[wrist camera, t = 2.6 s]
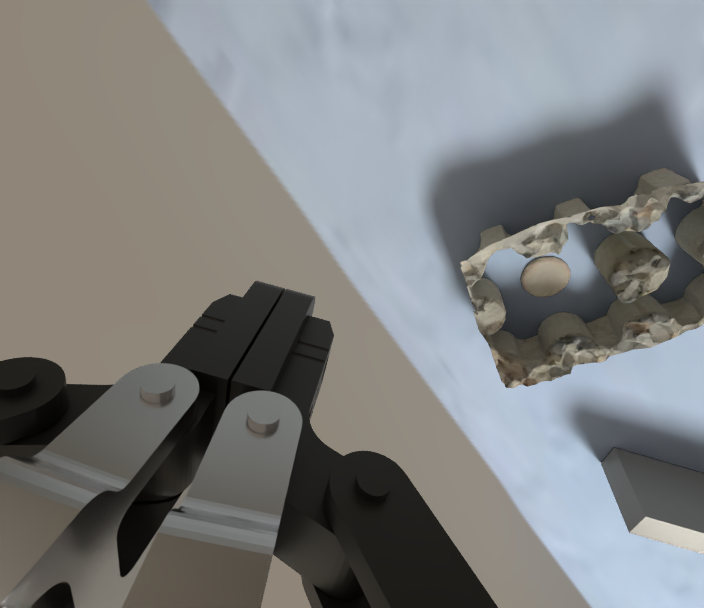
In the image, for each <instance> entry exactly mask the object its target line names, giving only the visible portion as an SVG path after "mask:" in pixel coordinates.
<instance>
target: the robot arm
mask: <svg viewBox="0 0 704 608" xmlns="http://www.w3.org/2000/svg"><path fill="white" fill-rule="evenodd" d="M314 303H315V297H314V296H311V295H306V294H303V293H300V292H296V291H292V290H289V289H286V290H285V289H284V288H281V287H277V286H274V285H270V284H266V283H263V282H259V281H255V282H254V284H253V285H252V286H251V287H250V289H249V290H248V291H247V293H246V294H245V295H244V297H243V298H242V297H239V296H235V295H231V294H229V295H227V296H225V297H223V298H221V299H218V300H216V301H214V302H213V303H212V304H211V305H210V306H209V307H208V308H207V309H206V311H205V312H204V313H203V314H202V317H200V318H199V319H198V320H197V321H196V322H195V323H194V325H193V327H191V328H190V329H189V330H188V331H187V333H186V334H185V335H184V336H183V337H182V339H180V341H179V342H178V343H177V344H176V345H175V346H174V348H173V349H172V350H171V351H170V352H169V353H168V355H167V356H166V357H165V358H164V359H163V360H162V362H161V363H157V364H149V365H145V366H141V367H138V368H136V369H134V370H132V371H130V372H128V373H127V374H125V375H124V376H123V377H122V378H121V379H120V380H118V381H117V382H116V383H115V384H114V385H82V384H66V378H65V373H64V371H63V370H62V368H61V367H60V366H59V365H57V364H56V363H54V362H52V361H49V360H47V359H42V358H33V357H22V358H13V359H8V360H4V361H0V608H261V603H262V599H263V594H264V590H265V586H266V582H267V578H268V573H269V569H270V564H271V559H272V556H273V555H275V556H276V557H277V558H279V559H280V560H281V561H283V562H284V563H285V564H287V565H288V566H289V567H291V568H292V569H294V570H295V571H296V572H298V573H299V574H300V575H301V577H302V584H303V587H304V590H305V593H306V595H307V597H308V600H309V602H310V605H311V607H312V608H498V607H497V605H496V604H495V603H494V601H493V600H492V598H491V597H490V595H489V594H488V592H487V591H486V589H485V588H484V587H483V585H482V584H481V582H480V581H479V579H478V578H477V576H476V575H475V574H474V572H473V571H472V569H471V568H470V566H469V565H468V563H467V562H466V561H465V559H464V558H463V556H462V555H461V553H460V552H459V550H458V549H457V547H456V546H455V545H454V543H453V542H452V540H451V539H450V537H449V536H448V534H447V533H446V532H445V530H444V529H443V527H442V526H441V524H440V523H439V521H438V520H437V519H436V517H435V516H434V514H433V513H432V511H431V510H430V508H429V507H428V505H427V504H426V503H425V501H424V500H423V498H422V497H421V495H420V494H419V492H418V491H417V490H416V488H415V487H414V485H413V484H412V482H411V481H410V479H409V478H408V476H407V475H406V474H405V472H404V471H403V470H402V469H401V468H400V467H399V466H398V465H397V464H396V463H395V462H394V461H392V460H391V459H389V458H387V457H386V456H384V455H381V454H378V453H375V452H371V451H357V452H352V453H349V454H347V455H345V456H342V455H341V454H339V453H338V452H336V451H334V450H333V449H331V448H330V447H328V446H327V445H325V444H324V443H323V442H322V441H321V440H320V439H319V438H318V437H317V436H316V434H315V433H314V431H313V429H312V427H311V424H310V419H311V416H312V413H313V409H314V406H315V403H316V400H317V397H318V394H319V390H320V387H321V384H322V381H323V377H324V373H325V369H326V365H327V361H328V357H329V353H330V349H331V345H332V341H333V337H334V334H333V331H332V328H331V325H330V322H329V321H326V320H323V319H319V318H315V317H312V313H313V308H314Z"/></svg>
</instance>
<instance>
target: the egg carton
mask: <svg viewBox="0 0 704 608" xmlns="http://www.w3.org/2000/svg"><path fill="white" fill-rule="evenodd" d="M671 197H677V198H679V199H681V200H683V201H685V202H688V203H692V202H695V201H697V200H699V199H701V198H702V205H701V206H699V207H698V208H696V209H694V210H692V211H691V212H690V213H688V214H687V215H686V216H685V217H684V218H683V219H682V221H681V222H680V223H679V225H678V226H677V229H676V232H675V240H676V242H677V244H678V246H679V247H680V248H682V249H683V250H684V251H685V252H687V253H688V254H689V255H691V256H692V257H693V258H694V259H696V260H697V261H698V262H700V263H701V264H702V265H703V267H704V182H698V183H691V182H690V181H689V180H688V179H686V178H684V177H682V176H680V175H678V174H676V173H674V172H673V171H672V170H669V169H666V168H661V169H658V170H655V171H652V172H649V173H646V174H644V175H642V176H640V178H639V182H638V187H637V190H636V192H635V193H634V195H633V196H631V197H629V198H628V200H627V201H626V202H625V203H624V204H622V205H617V206H607V207H600V208H596V209H592V210H590V209H589V208H588V207H587V206H586V205H585V204H584V202H583V201H582V200H581V199H580V198H575V199H572V200H569V201H566V202H563V203H560V204H558V205H556V206H555V212H554V218H553V220H550V221H547V222H543V223H539V224H536V225H534V226H532V227H530V228H528V229H525V230H523V231H521V232H519V233H517V234H514V235H512V236H511V235H509V234H508V233H507V232H506V231H505V230H504V228H503V226H502V225H498V226H494V227H491V228H489V229H486V230H484V231H482V232H481V233H480V237H481V243H480V247H479V249H478V251H477V252H476V253H475V254H474V255H473V256H472V257H470V258H469V259H467V260H465V261H462V262H461V270H462V273H463V275H464V278H465V280H466V283H467V285H468V286H467V288H468V292H469V295H470V298H471V301H472V303H473V305H474V307H475V309H476V311H474V315H475V319H476V322H477V325H478V329H479V331H480V333H481V334H482V335H483V337H484V338H485V340H486V341H487V343H488V344H489V347H490V349H491V352H492V355H493V358H494V361H495V364H496V368H497V370H498V373H499V375H500V378H501V381H502V382H503V383H504V384H505V387H506V388H514V387H517V386H518V385H521V384H523V385H525V386H531V385H535V384H537V383H539V382H541V381H552V380H554V379H556V378H559V377H562V376H564V375H566V374H571V370H572V367H573V366H575V365H578V364H585V363H594V362H602V361H605V360H606V359H607V358H608V357H609V356H612V355H616V354H620V353H624V352H627V351H630V350H633V349H642V348H651V347H653V346H655V345H658V344H660V343H662V342H665V341H667V340H670V339H672V338H675V337H677V336H679V335H681V334H682V333H684V332H685V331H688V330H692V329H696V328H698V327H700V326H701V325H703V324H704V273H703V274H701V275H699V276H698V277H696V278H695V279H694V280H692V281H691V282H690V283H689V284H688V286H687V287H686V289H685V291H684V295H683V297H682V298H680V299H678V300H675V301H672V302H668V303H663V304H660V303H659V302H658V301H657V300H656V299H655V298H654V297H652V296H651V295H649V293H651V292H653V291H655V290H657V289H658V288H659V286H660V285H661V284H662V283H663V281H664V280H665V279H666V278H667V275H668V271H669V267H670V260H669V258H668V257H667V256H666V255H665V254H663V253H662V252H661V251H660V250H659V249H657V248H656V247H655V246H654V245H653V244H652V243H651V242H649V241H648V240H647V239H646V238H645V237H643V236H642V235H640V234H638V233H636V231H637V232H641V231H643V230H645V229H647V228H649V227H650V226H651V224H652V223H653V222H655V221H658V220H659V218H660V215H661V212H666V209H667V204H668V202H669V200H670V198H671ZM590 215H593V216H595V219H594V220H589V219H588V217H589V216H590ZM571 222H574V223H576V224H577V225H583V224H586V223H588V222H592V223H594V224H596V225H599V224H602V225H603V226H605V228H606V229H607V230H608V231H611V232H613V233H614V234H612V235H610V236H609V237H607V238H606V239H605V240H604V241H603V242H602V243H601V244H600V245H599V247H598V248H597V249H596V251H595V254H594V262H595V265H596V267H597V269H598V270H599V272H600V273H601V274H602V276H603V277H604V278H605V280H606V281H607V282H608V284H609V285H610V286H611V288H612V290H613V291H614V293H615V295H616V296H617V297H618V299H616V300H615V301H614V302H613V303H612V304H611V306H610V307H609V309H608V312H607V315H606V316H604V317H601V318H599V319H596V320H594V321H591V322H589V323H584V321H583V320H582V319H581V318H580V317H579V316H577V315H575V314H572V313H567V312H560V313H555V314H553V315H550V316H549V317H547V318H546V319H544V321H542V322H541V324H540V326H539V328H538V333H537V335H536V336H533V337H530V338H527V339H516V338H515V337H514V335H512V334H511V333H509V332H507V331H503V330H499V329H500V328H501V327H502V325H503V323H504V321H505V314H506V310H505V306H504V303H503V299H502V296H501V293H500V290H499V289H498V287H497V286H496V285H495V284H494V283H493V282H492V281H491V280H489V279H486V278H482V276H483V273H484V271H485V268H486V264H487V261H488V259H489V257H490V256H491V255H492V254H493V253H495V252H496V251H497V250H502V249H508V248H512V249H514V250H515V251H516V252H517V253H518V254H521V255H523V256H525V257H526V258H530V257H539V256H542V255H545V254H548V253H551V252H554V253H557V254H559V253H560V252H561V250H562V247H563V246H564V244H565V243H566V242H567V240H568V231H567V224H568V223H571ZM633 231H634V232H633ZM569 279H570V269H569V267H568V265H567V264H566V263H565V262H564V261H563V260H562V259H559V258H556V257H541V258H537V259H535V260H533V261H532V262H531V263H529V264H528V265H527V266H526V268H525V269H524V271H523V273H522V275H521V284H522V286H523V288H524V289H525V290H526V291H527V292H528V293H530V294H531V295H533V296H537V297H548V296H552V295H555V294H557V293H558V292H560V291H561V290H562V289H563V288H564V287H565V286H566V285H567V283H568V282H569Z"/></svg>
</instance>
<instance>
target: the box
mask: <svg viewBox="0 0 704 608" xmlns="http://www.w3.org/2000/svg"><path fill="white" fill-rule="evenodd" d="M601 465H602V467H603V470H604V472H605V475H606V477H607V479H608V482H609V484H610V487H611V489H612V492H613V494H614V497H615V499H616V501H617V504H618V506H619V509H620V511H621V514H622V516H623V519H624V521H625V523H626V526H627V528H628V531H629V533H632V534H636V535H639V536H643V537H646V538H649V539H653V540H656V541H660V542H663V543H667V544H670V545H674V546H677V547H681V548H684V549H687V550H691V551H694V552H698V553H701V554H704V473H701V472H697V471H694V470H690V469H687V468H683V467H680V466H676V465H673V464H669V463H666V462H662V461H659V460H655V459H652V458H648V457H645V456H641V455H638V454H635V453H631V452H628V451H624V450H621V449H617V448H613V450H612V451H611V452H610V453H609V454H608V456H607V457H606V458H605V459H604V460H603V462H602V463H601Z"/></svg>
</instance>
